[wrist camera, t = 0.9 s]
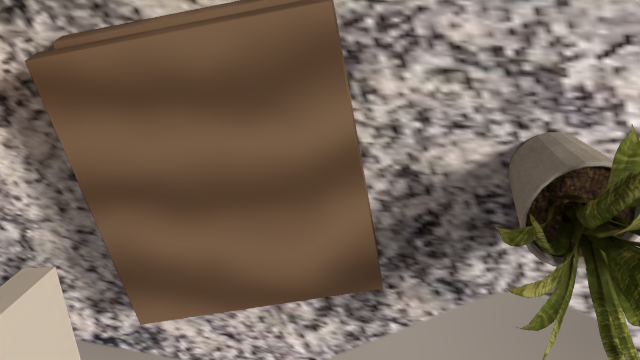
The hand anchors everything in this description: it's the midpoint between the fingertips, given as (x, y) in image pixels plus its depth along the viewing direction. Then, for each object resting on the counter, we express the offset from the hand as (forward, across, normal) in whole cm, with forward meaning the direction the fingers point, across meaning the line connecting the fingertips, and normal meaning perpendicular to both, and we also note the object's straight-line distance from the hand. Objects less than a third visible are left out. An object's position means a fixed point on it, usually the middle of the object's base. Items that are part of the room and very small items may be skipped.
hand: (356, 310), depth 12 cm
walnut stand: (+25, -10, -3) cm, 27 cm away
